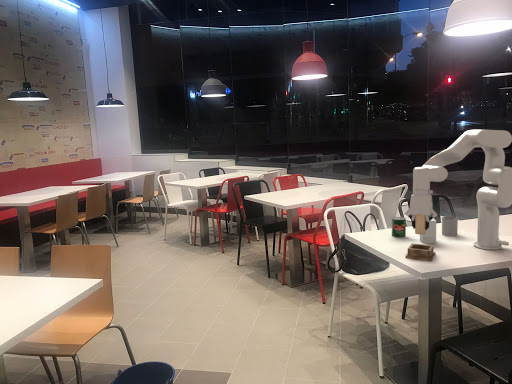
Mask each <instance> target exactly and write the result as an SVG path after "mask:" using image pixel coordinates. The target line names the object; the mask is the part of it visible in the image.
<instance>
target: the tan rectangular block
mask: <svg viewBox="0 0 512 384" xmlns="http://www.w3.org/2000/svg"><path fill="white" fill-rule="evenodd" d="M425 224H426V217H425V216H424V215H423V214H417V215H415V229H414V234H416V235H419V236H420V235H423V234H426V230H425Z"/></svg>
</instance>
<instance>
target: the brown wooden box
mask: <svg viewBox="0 0 512 384" xmlns="http://www.w3.org/2000/svg"><path fill="white" fill-rule="evenodd" d="M434 247H435V246H434V245H433V244H424V243H422V244H421V243H411V244H410V245H409V246H408V248H407V253H406V255H405V258H406V259H413V260H422V261H430V262H433V259H434V258H435V255H436V251H434Z"/></svg>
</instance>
